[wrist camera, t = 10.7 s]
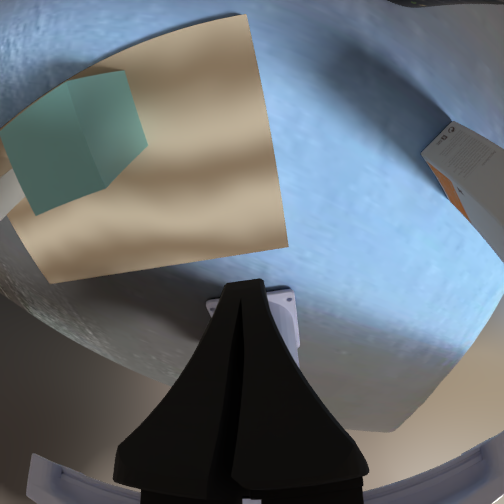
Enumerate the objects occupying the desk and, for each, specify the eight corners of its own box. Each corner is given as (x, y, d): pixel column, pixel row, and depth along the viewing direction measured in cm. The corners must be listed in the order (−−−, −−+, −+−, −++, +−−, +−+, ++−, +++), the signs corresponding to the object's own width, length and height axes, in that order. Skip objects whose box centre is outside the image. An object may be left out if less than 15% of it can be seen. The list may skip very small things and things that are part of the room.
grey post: (32, 190, 16) (-4, 225, 12) (16, 198, 17) (-18, 232, 13) (20, 162, 15) (-20, 194, 11) (5, 173, 15) (-32, 204, 11)
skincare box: (417, 153, 16) (532, 262, 7) (451, 118, 14) (577, 203, 5) (448, 203, 19) (532, 308, 9) (478, 172, 17) (571, 264, 7)
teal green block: (148, 145, 15) (106, 188, 11) (85, 169, 16) (35, 216, 11) (124, 70, 12) (66, 81, 7) (60, 103, 13) (-2, 132, 8)
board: (287, 240, 21) (288, 247, 20) (53, 278, 24) (50, 284, 23) (246, 16, 11) (245, 14, 11) (-17, 145, 14) (-22, 149, 13)
